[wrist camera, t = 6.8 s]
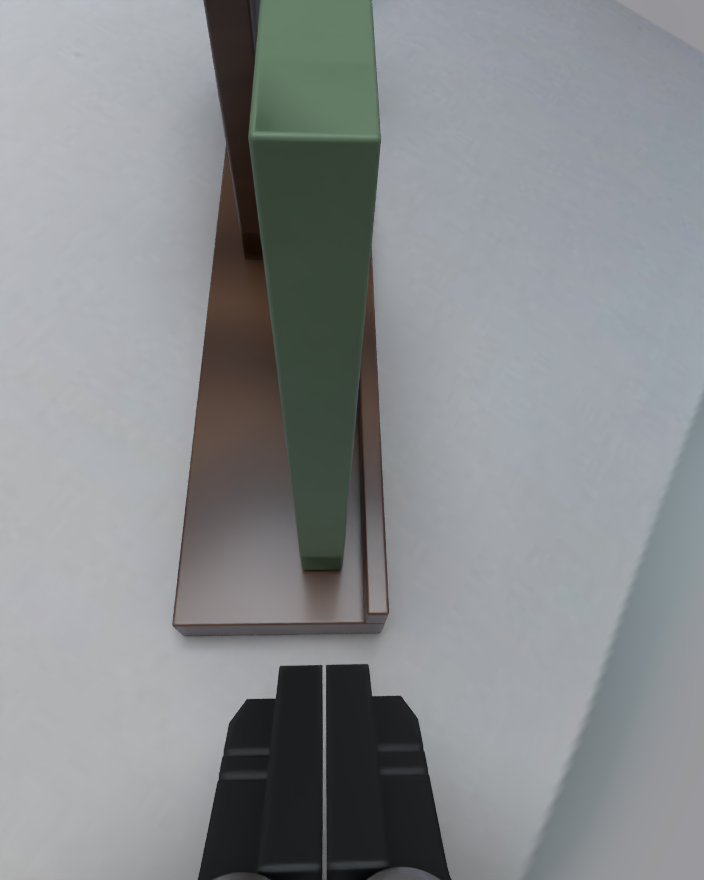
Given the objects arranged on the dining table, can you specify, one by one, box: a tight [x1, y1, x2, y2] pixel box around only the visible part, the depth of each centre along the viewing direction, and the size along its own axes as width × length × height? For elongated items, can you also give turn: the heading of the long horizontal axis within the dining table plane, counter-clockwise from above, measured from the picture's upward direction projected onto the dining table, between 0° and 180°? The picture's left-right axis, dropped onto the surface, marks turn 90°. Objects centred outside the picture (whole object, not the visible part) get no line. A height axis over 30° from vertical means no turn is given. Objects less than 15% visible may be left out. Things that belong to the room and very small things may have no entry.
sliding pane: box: [248, 0, 381, 570], centre depth 14 cm, size 12×1×14 cm, turn 1°
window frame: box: [172, 0, 389, 636], centre depth 18 cm, size 27×6×17 cm, turn 1°
